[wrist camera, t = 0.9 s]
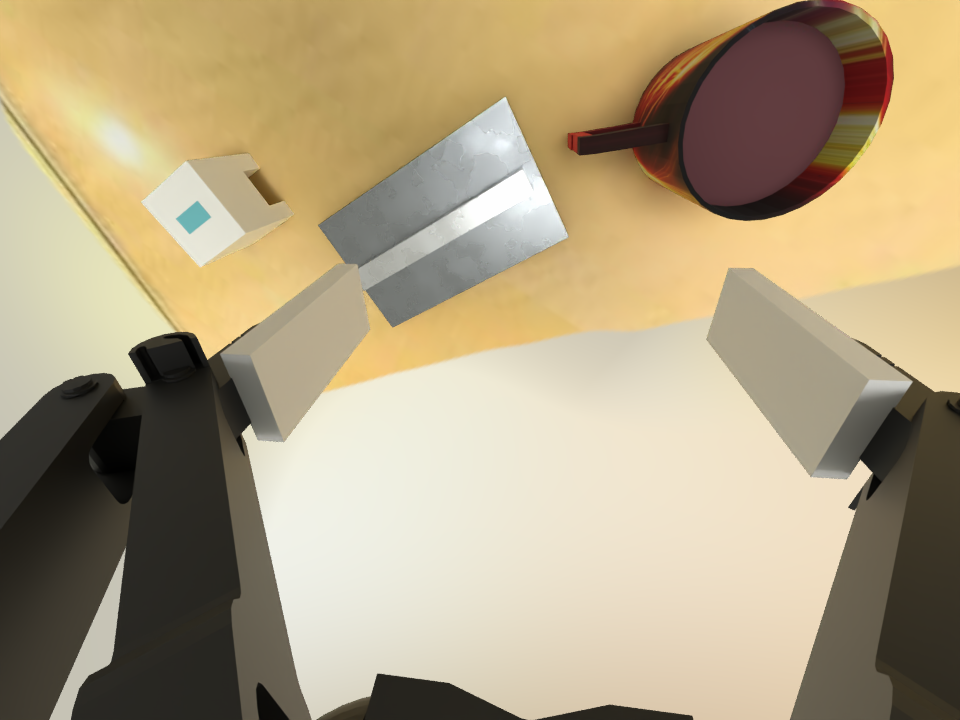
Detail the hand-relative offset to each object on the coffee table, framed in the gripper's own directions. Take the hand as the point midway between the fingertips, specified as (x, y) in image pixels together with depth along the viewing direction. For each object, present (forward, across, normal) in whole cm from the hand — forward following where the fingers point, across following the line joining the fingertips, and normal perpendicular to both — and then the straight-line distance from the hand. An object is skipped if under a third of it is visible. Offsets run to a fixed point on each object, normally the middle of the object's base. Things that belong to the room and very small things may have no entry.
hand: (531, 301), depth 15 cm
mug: (+24, +10, +4) cm, 26 cm away
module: (+24, -27, 0) cm, 36 cm away
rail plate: (+24, -8, -3) cm, 25 cm away
